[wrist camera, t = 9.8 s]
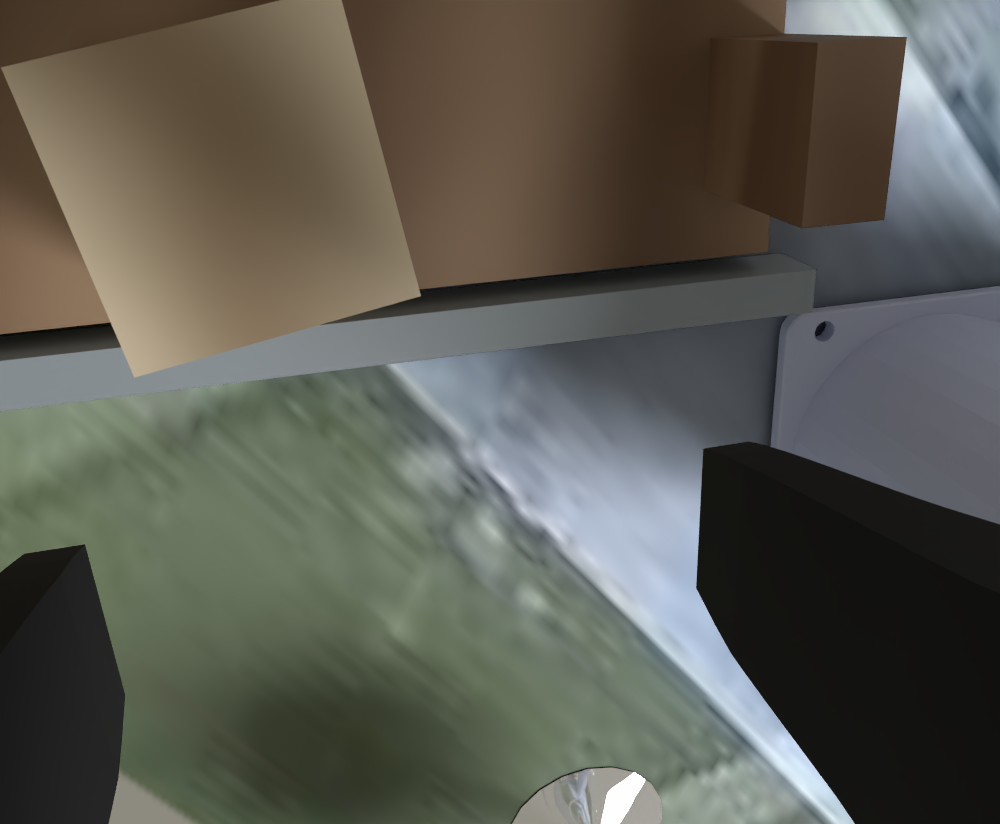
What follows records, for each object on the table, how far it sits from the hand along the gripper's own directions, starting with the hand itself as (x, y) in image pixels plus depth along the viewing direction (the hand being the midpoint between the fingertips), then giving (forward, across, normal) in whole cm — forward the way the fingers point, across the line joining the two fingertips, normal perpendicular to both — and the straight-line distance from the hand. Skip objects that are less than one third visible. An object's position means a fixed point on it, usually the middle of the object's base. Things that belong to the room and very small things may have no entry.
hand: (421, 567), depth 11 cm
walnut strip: (+10, -1, -4) cm, 11 cm away
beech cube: (+9, +2, -4) cm, 10 cm away
